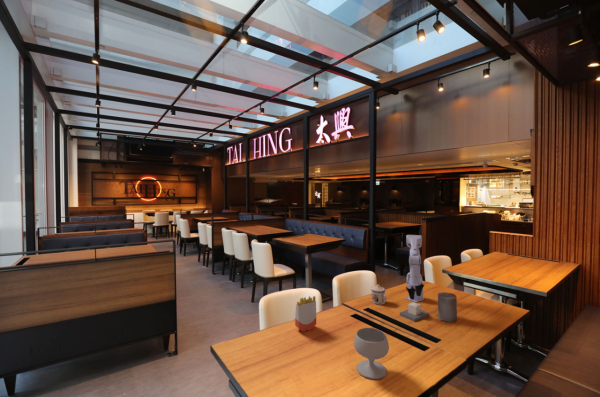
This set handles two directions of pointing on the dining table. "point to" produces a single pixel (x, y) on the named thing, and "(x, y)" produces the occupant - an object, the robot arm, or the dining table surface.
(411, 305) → the cube
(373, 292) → the teacup with lid
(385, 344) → the chalice
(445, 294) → the pillar candle
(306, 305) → the french fries container
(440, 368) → the dining table surface
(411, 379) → the dining table surface
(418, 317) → the serving board
